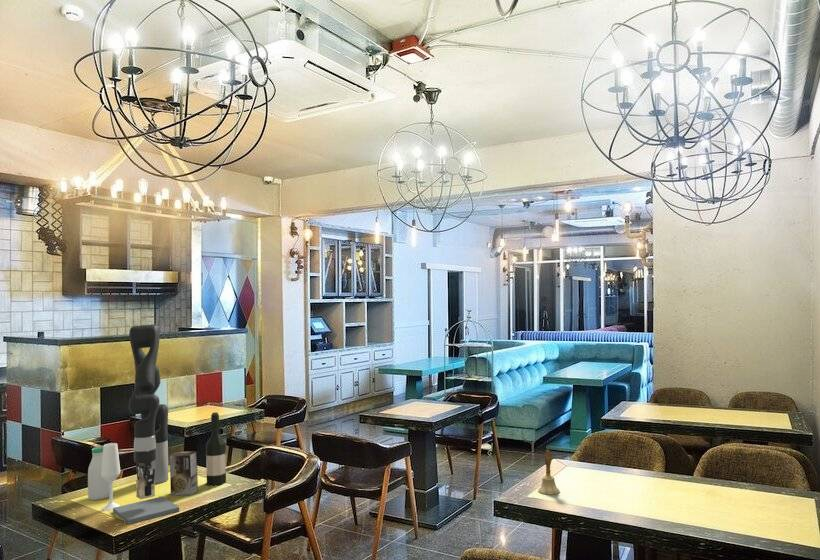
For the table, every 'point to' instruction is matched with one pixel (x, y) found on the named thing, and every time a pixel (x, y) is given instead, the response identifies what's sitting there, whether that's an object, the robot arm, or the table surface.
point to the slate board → (145, 510)
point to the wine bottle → (215, 454)
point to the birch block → (143, 489)
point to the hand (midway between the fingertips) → (145, 493)
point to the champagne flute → (110, 470)
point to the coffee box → (183, 473)
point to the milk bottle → (97, 477)
